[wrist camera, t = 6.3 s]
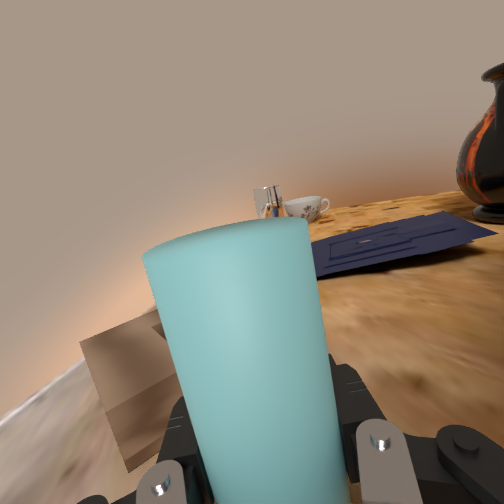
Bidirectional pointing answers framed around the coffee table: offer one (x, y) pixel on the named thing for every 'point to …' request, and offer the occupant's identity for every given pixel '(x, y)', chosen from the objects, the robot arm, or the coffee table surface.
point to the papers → (393, 241)
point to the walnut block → (135, 384)
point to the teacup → (306, 207)
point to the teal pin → (253, 360)
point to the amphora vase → (486, 157)
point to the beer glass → (269, 202)
